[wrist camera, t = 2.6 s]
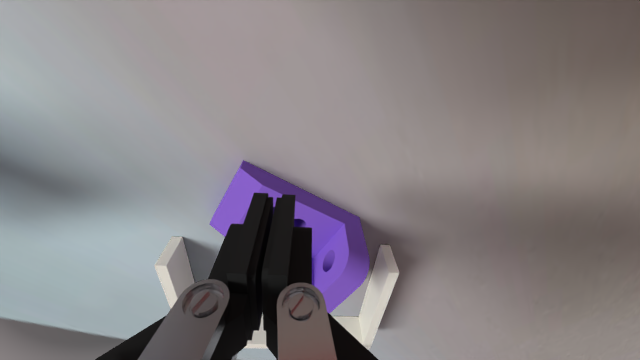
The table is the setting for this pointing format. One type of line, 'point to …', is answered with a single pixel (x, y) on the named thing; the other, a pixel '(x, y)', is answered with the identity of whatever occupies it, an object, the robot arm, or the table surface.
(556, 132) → the table surface
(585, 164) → the table surface
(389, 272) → the white u-shaped fence
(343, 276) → the bracket
